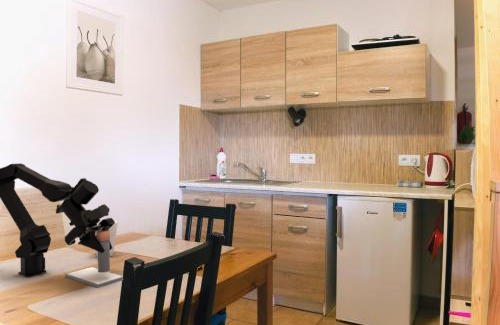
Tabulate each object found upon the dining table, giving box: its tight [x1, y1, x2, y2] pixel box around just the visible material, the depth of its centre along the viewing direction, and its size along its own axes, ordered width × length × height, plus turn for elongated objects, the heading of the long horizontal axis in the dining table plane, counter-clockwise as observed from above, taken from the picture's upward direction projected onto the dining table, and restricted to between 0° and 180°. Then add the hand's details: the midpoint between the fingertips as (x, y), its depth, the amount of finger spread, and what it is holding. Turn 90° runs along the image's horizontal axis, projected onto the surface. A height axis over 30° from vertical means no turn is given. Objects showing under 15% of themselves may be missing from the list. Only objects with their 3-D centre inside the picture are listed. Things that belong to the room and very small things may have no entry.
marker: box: [97, 231, 111, 272], centre depth 127 cm, size 4×4×12 cm
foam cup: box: [95, 220, 118, 258], centre depth 158 cm, size 10×9×13 cm
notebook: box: [64, 266, 123, 289], centre depth 131 cm, size 10×18×1 cm, turn 55°
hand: (107, 250), depth 127 cm, fingers closed on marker, 4 cm apart
